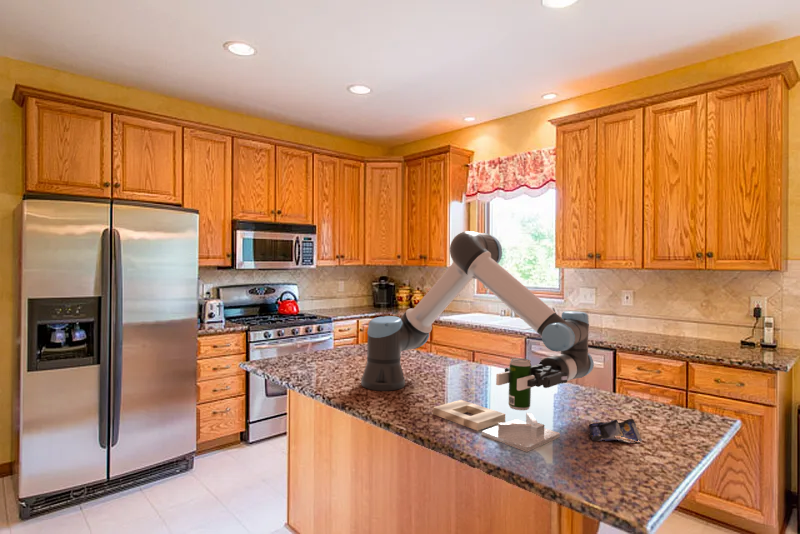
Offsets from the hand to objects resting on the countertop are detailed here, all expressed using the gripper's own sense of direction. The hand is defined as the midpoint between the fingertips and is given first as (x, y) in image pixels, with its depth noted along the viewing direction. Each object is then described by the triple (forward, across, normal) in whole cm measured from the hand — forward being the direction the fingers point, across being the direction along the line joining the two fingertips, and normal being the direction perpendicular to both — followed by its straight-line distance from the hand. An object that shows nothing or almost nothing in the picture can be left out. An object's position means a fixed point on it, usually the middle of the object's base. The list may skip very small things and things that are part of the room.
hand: (507, 382), depth 112 cm
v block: (-5, 0, -14) cm, 15 cm away
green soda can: (-5, 0, -7) cm, 9 cm away
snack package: (-23, -16, -15) cm, 31 cm away
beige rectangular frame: (-5, +16, -14) cm, 22 cm away
